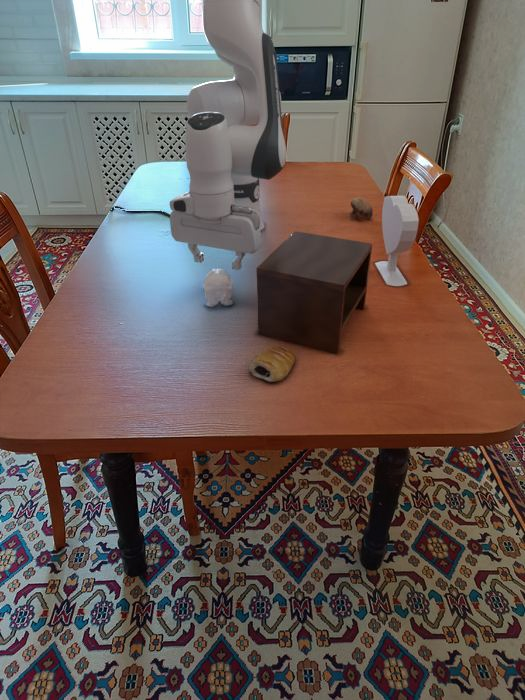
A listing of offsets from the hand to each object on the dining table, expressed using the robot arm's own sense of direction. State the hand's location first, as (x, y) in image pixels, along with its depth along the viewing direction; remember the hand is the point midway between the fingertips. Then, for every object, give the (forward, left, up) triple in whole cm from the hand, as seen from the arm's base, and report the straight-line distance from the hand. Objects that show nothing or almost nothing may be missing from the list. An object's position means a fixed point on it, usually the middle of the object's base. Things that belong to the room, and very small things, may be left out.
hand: (217, 265), depth 107 cm
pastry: (+22, -19, -9) cm, 30 cm away
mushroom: (+16, +61, -9) cm, 64 cm away
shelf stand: (+23, 0, -9) cm, 24 cm away
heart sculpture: (+33, +28, -9) cm, 44 cm away
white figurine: (0, 0, -9) cm, 9 cm away
